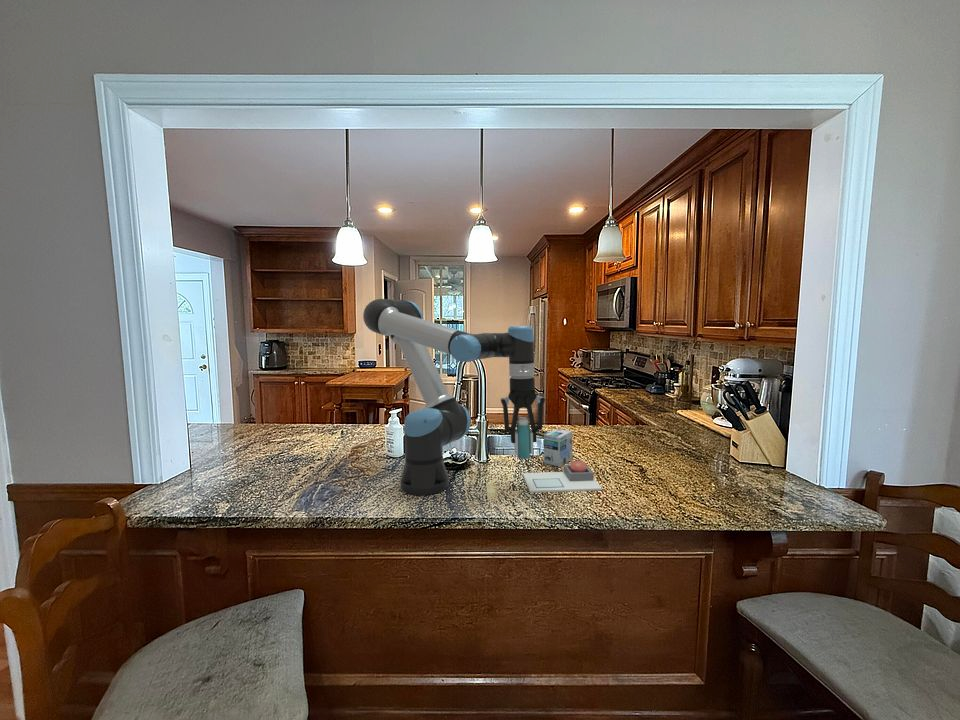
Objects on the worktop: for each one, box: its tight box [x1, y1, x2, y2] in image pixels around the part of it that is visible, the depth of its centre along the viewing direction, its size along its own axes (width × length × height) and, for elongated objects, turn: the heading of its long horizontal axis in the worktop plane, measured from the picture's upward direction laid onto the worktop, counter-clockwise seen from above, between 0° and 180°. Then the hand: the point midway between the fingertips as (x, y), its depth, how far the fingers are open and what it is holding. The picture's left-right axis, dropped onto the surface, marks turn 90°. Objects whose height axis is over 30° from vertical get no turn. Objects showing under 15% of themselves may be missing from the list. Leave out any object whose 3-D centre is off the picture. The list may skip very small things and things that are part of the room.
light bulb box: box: [543, 428, 573, 468], centre depth 145 cm, size 11×7×11 cm, turn 143°
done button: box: [569, 460, 587, 473], centre depth 129 cm, size 5×5×3 cm
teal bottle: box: [516, 416, 532, 460], centre depth 121 cm, size 4×4×12 cm
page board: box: [522, 464, 603, 494], centre depth 126 cm, size 22×14×3 cm, turn 93°
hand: (523, 452), depth 121 cm, fingers closed on teal bottle, 4 cm apart
